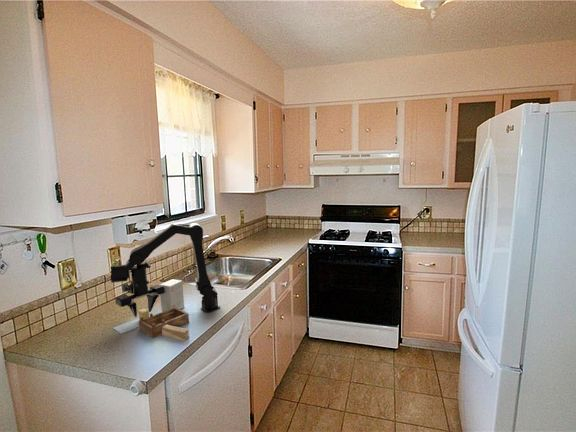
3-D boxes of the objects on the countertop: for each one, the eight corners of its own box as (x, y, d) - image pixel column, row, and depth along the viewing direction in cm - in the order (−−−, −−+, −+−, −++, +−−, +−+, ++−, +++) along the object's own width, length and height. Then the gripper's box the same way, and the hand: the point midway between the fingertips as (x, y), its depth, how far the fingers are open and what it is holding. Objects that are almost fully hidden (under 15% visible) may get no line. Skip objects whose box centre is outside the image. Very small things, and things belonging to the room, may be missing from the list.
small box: (174, 305, 155) (172, 278, 153) (184, 307, 153) (182, 280, 151) (161, 312, 148) (158, 284, 146) (172, 314, 145) (169, 286, 143)
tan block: (166, 333, 129) (166, 324, 129) (189, 338, 125) (188, 329, 124) (162, 336, 127) (161, 327, 126) (184, 341, 123) (184, 332, 122)
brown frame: (175, 316, 143) (174, 304, 143) (189, 322, 137) (188, 310, 136) (139, 330, 131) (138, 318, 131) (152, 338, 125) (151, 325, 124)
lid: (145, 317, 144) (144, 306, 143) (154, 322, 139) (153, 311, 139) (113, 329, 134) (111, 317, 133) (121, 335, 129) (120, 323, 128)
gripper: (151, 269, 149) (154, 302, 151) (107, 281, 135) (111, 317, 137) (164, 274, 142) (167, 308, 144) (119, 286, 128) (123, 324, 130)
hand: (142, 314), depth 139 cm, fingers open, 6 cm apart
